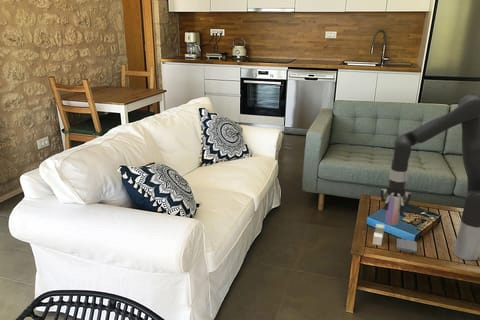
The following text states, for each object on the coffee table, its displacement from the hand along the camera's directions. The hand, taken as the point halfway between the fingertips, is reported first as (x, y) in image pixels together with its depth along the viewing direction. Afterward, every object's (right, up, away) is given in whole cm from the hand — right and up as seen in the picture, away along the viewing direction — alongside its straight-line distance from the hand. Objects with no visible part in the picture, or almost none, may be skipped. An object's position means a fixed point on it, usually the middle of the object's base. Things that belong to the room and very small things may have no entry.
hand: (393, 210), depth 189 cm
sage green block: (-2, -14, +12) cm, 18 cm away
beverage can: (0, -6, +2) cm, 7 cm away
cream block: (-7, -17, +4) cm, 18 cm away
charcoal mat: (+7, -18, +1) cm, 19 cm away
